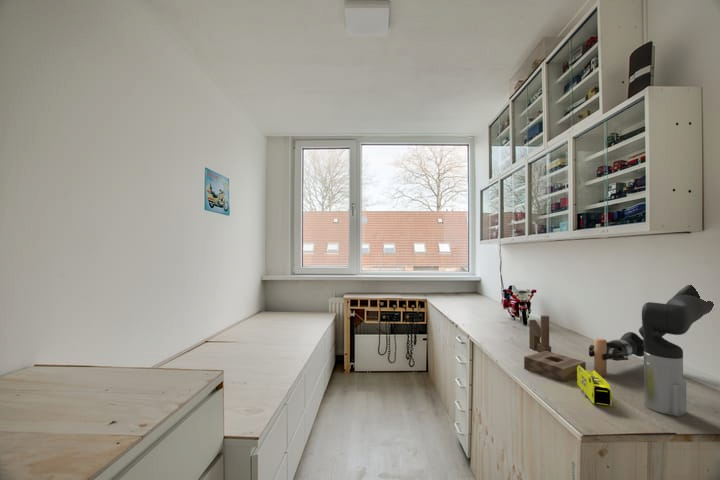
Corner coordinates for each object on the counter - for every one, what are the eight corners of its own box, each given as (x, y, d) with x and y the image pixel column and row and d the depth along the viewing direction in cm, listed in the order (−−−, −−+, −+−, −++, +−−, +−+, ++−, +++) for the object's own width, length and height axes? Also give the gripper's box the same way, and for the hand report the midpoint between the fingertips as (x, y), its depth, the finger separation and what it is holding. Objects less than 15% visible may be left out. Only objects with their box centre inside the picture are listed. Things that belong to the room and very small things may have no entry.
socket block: (585, 374, 132) (585, 361, 132) (563, 382, 124) (563, 368, 124) (546, 362, 146) (546, 350, 146) (524, 368, 138) (524, 356, 138)
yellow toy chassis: (575, 386, 121) (575, 363, 122) (593, 388, 120) (593, 365, 120) (591, 405, 106) (591, 379, 106) (612, 408, 104) (612, 382, 105)
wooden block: (535, 347, 168) (535, 312, 168) (551, 354, 157) (551, 316, 158) (529, 347, 167) (528, 312, 167) (545, 354, 157) (544, 316, 157)
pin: (608, 375, 131) (608, 340, 132) (603, 377, 129) (603, 341, 130) (597, 372, 135) (597, 337, 135) (592, 373, 133) (592, 339, 133)
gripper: (638, 363, 133) (617, 371, 125) (598, 353, 145) (577, 359, 137) (637, 344, 133) (617, 351, 125) (598, 336, 146) (577, 341, 137)
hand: (596, 355), depth 131 cm, fingers closed on pin, 4 cm apart
